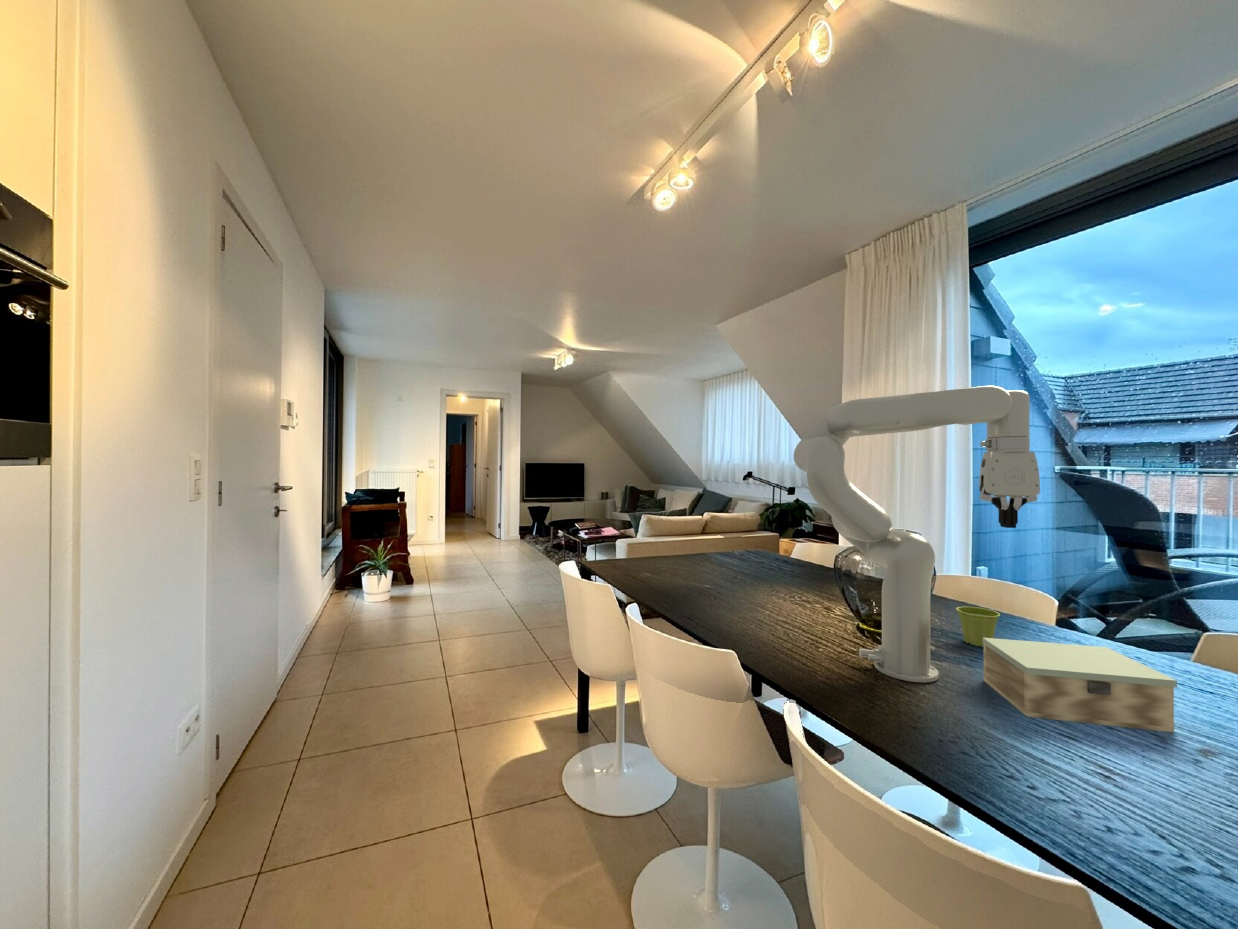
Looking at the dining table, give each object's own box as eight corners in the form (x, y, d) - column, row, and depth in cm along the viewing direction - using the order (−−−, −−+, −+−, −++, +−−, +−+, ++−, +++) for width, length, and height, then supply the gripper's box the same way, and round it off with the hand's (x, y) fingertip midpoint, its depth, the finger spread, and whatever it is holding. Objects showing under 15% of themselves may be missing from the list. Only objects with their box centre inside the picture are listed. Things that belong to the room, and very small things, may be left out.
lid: (1026, 674, 89) (1026, 667, 89) (982, 643, 105) (982, 637, 105) (1177, 687, 84) (1177, 680, 84) (1106, 652, 100) (1106, 647, 100)
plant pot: (952, 643, 128) (952, 610, 128) (961, 635, 135) (960, 604, 135) (996, 653, 121) (996, 618, 122) (1003, 644, 128) (1003, 611, 128)
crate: (1028, 717, 89) (1028, 674, 89) (983, 680, 105) (983, 643, 105) (1176, 733, 84) (1176, 687, 84) (1105, 692, 100) (1105, 653, 100)
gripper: (977, 445, 107) (978, 528, 107) (1057, 445, 104) (1058, 530, 103) (962, 447, 115) (962, 524, 114) (1036, 446, 111) (1036, 526, 111)
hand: (1008, 527), depth 109 cm, fingers closed
